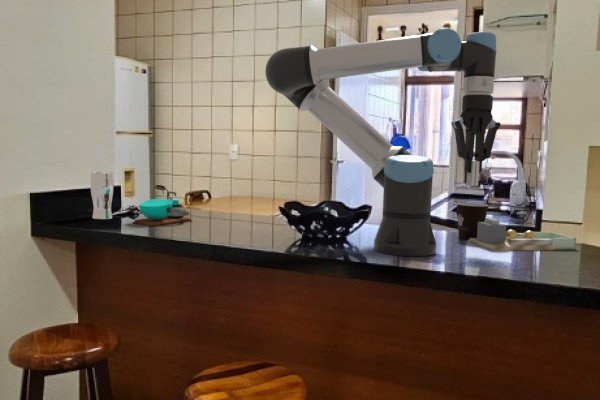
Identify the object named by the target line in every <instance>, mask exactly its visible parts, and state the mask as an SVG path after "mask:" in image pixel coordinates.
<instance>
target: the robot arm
mask: <svg viewBox="0 0 600 400" xmlns="http://www.w3.org/2000/svg"><path fill="white" fill-rule="evenodd" d="M496 57H497V36H496V34H495V33H492V32H491V31H490V32H488V31H478V32H475V31H474V32H471V33H468V34H467V35H466V37H465V40H464V41H462V40H461V37H460V35H459V34H458V32H457V31H456V30H454V29H452V28H449V27H443V28H438V29H437V30H435V31H433V32H429V33H424V34H417V35H410V36H409V35H408V36H402V37H394V38H388V39H387V38H386V39H381V40H373V41H366V42H365V41H364V42H360V43H359V42H358V43H352V44H344V45H338V46H337V45H336V46H330V47H323V48H316V47H315V46H313V45H307V46H297V47H288V48H283V49H279V50H276V51H274V53H273V54H272V55H271V56H270V57H269V59H268V60H267V62H266V66H265V77H266V82H267V83H268V85H269V87H271V89H272V90H273V91H275V92H276V93H279V94H280V95H283V96H284V97H285V98H286V99H288V101H290V102H291V103H292V104H293V106H295V108H297V109H298V110H299V111H301V112H304V111H308V112H309V113H310V114H312V115H313V116H314V117H315V118H316V119H317V120H318V121H319V122H320V123H321V124H322V125H323V126H325V127H326V129H328V131H330V132H331V133H332V134H333V135H335V137H336V138H337V139H339V141H341V142H342V143H343V144H344V145H345V146H346V147H347V148H348V149H349V150H350V151H351V152H352V153H354V154H355V156H356V157H358V158H359V159H360V160H361V161H362V162H363V163H364V164H365V165H367V166H368V168H370V169H371V173H372V175H371V177H372V179H374V181H376V183H378V185H380V186H381V188H383V196H382V197H383V198H382V199H383V200H382V219H381V221H380V223H379V227H378V229H377V232H376V235H375V237H374V239H373V240H374V241H373V242H374V244H373V249H374V250H375V251H377V252H379V253H383V254H385V255H386V254H387V255H392V256H400V257H426V256H432V255H435V254H436V253H437V242H436V241H437V240H436V239H435V234H434V230H433V227H432V223H431V222H432V221H431V212H432V211H431V210H432V197H433V195H432V194H433V191H432V190H433V177H434V176H433V175H434V172H435V170H434V163H433V160H432V159H431V158H429V157H426V156H422V155H413V154H411V153H410V152H409V151H408V150H406V148H405V147H404V146H402V145H400V146H399V145H398V146H396V145H395V146H394V145H393V144H392V143H390V142H389V140H387V138H385V137H384V136H383V135H382V134H381V133H380V132H379V131H378V130H377V129H376V128H375V127H374V126H372V125H371V124H370V122H368V121H367V120H366V119H365V118H364V117H362V116H361V114H359V113H358V112H357V111H356V110H355V109H354V108H353V107H352V106H351V105H349V103H347V101H345V100H344V99H343V98H342V97H341V96H340V95H339V94H338V93H337V92H335V90H333V89H332V88H331V86H330V80H331V79H332V80H333V79H338V78H339V79H340V78H347V77H354V76H360V75H369V74H376V73H383V72H385V73H386V72H391V71H393V72H394V71H399V70H407V69H412V68H417V69H418V71H419V72H428V73H434V72H436V73H437V72H460V73H461V72H463V84H462V85H463V87H462V93H463V94H464V95H463V96H462V102H461V110H462V111H461V114H460V115H459V118H458V119H456V120H452V121H451V123H450V124H451V126H452V128H453V130H454V135H455V143H456V150H457V156H458V158H461V159H463V161H464V170H463V171H464V173H466V183H465V184H466V186H471V187H478V186H479V175H480V174H481V173H482V169H483V162H484V161H486V160H487V159H490V157H491V154H492V150H493V146H494V143H495V139H496V136H497V132H498V130H499V129H500V127H501V122H499V121H496V120H495V119H494V117H493V115H492V110H493V104H494V97H493V95H492V94H494V86H495V85H494V84H495V74H496V73H495V71H496ZM463 126H464V127H463ZM487 127H488V129H487ZM464 128H465V131H464Z"/></svg>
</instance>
